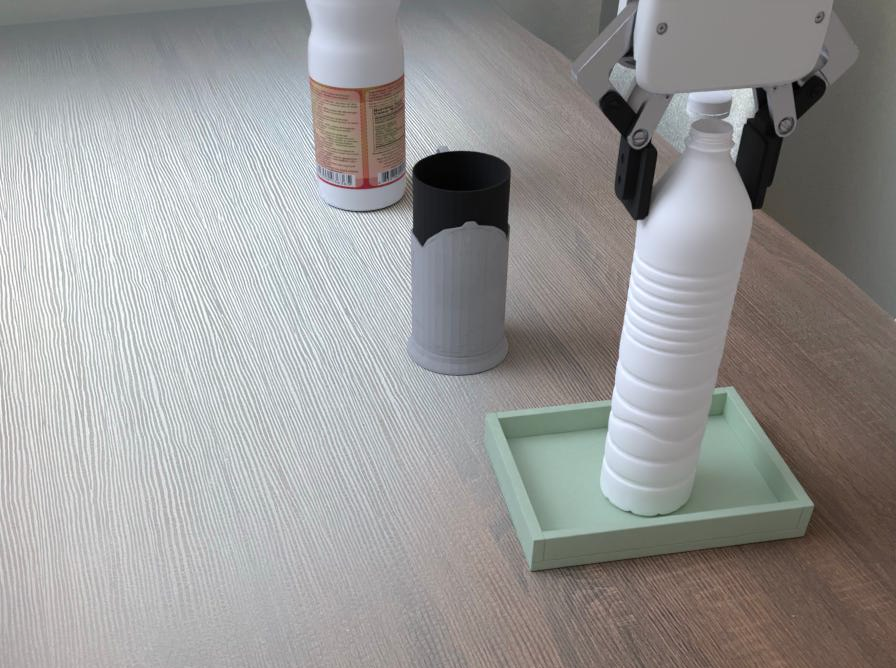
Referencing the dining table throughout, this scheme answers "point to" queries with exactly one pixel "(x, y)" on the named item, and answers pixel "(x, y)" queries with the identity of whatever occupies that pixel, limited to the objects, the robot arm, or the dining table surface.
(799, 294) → the dining table surface
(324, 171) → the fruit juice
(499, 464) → the rectangular tray
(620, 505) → the water bottle
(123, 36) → the dining table surface
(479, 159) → the glass holder
